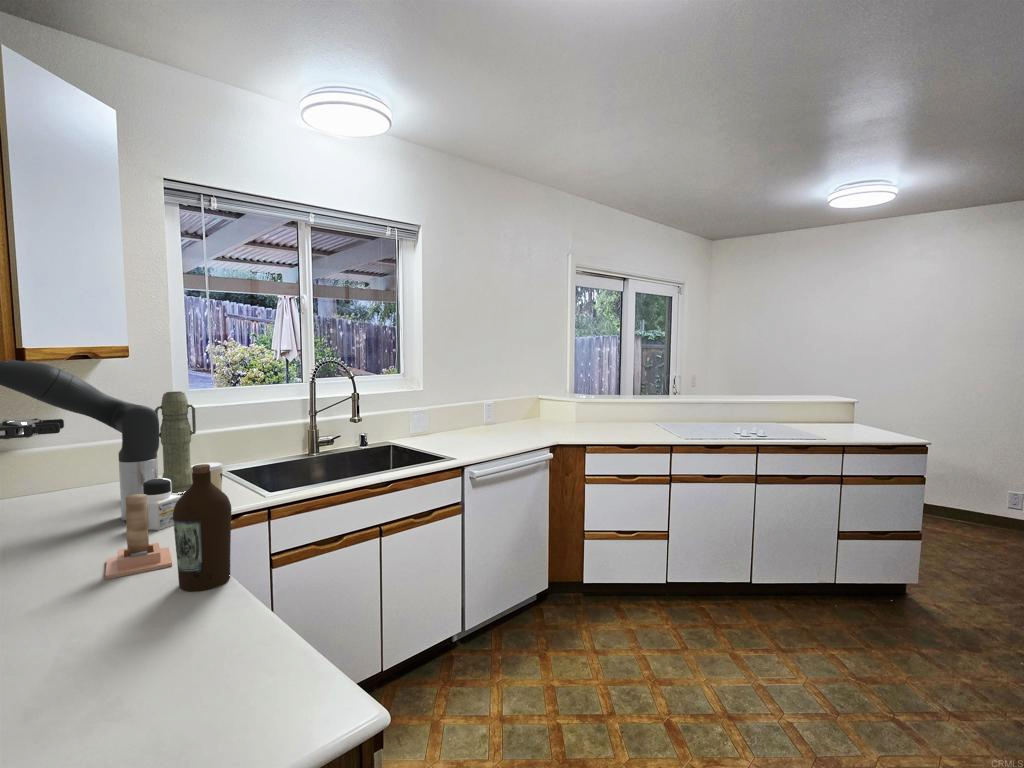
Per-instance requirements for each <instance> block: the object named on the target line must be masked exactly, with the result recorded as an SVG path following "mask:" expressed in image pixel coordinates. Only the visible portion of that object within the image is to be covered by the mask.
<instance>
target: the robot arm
mask: <svg viewBox="0 0 1024 768" xmlns="http://www.w3.org/2000/svg"><path fill="white" fill-rule="evenodd" d="M5 361H8V362H1V361H0V386H1V387H2V386H3V387H5V388H7V389H10V390H13V391H15V392H18V393H20V394H23V395H26V396H28V397H30V398H33V399H35V400H38V401H40V402H42V403H45V404H47V405H50V406H53V407H56V408H59V409H61V410H65V411H68V412H72V413H75V414H79V415H83V416H85V417H89V418H91V419H94V420H96V421H98V422H100V423H102V424H104V425H106V426H108V427H110V428H112V429H114V430H115V431H117V432H119V433H121V449H120V450H119V451H118V471H119V472H118V473H119V491H120V495H119V496H120V498H119V499H120V514H121V515H120V516H121V519H122V520H121V521H123V520H126V499H125V498H126V497H127V496H130V495H136V494H144V493H143V484H144V482H146V481H148V480H151V479H157V478H159V469H158V450H159V448H160V437H159V434H160V421H159V415H157V413H156V412H155V411H154V410H155V409H153V408H151V407H149V406H147V405H142V404H135V403H131V402H128V401H125V400H122V399H119V398H115V397H113V396H110V395H108V394H106V393H104V392H102V391H100V390H99V389H97V388H96V387H94V386H93V385H92V384H90V383H88V382H87V381H85V380H84V379H82V378H80V377H79V376H75V375H74V374H72V373H71V372H70V373H69V372H67V371H65V370H63V369H60V368H58V367H55V366H54V365H50V364H45V363H40V362H33V361H23V360H15V359H10V360H5ZM64 428H65V420H64V419H62V418H59V419H58V418H57V419H56V418H55V419H41V418H32V419H31V418H22V419H21V418H19V419H14V418H10V419H4V420H2V421H1V422H0V440H11V439H24V438H27V439H29V438H32V437H35V436H38V435H39V436H40V435H52V434H59V433H60V432H61V430H62V429H64Z"/></svg>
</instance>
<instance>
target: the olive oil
mask: <svg viewBox="0 0 1024 768" xmlns="http://www.w3.org/2000/svg"><path fill="white" fill-rule="evenodd" d="M194 465H195V464H194ZM192 469H193V473H192V481H193V484H192V485H191V487H190V488H189V489H188V490H187V491H186V492H185V493H184V494H181V496H180V499H179V500H178V501H177V503H176V505H175V507H174V511H173V517H172V519H173V525H172V526H173V530H174V531H173V532H174V541H175V551H176V554H175V555H176V562H177V563H176V564H177V573H178V574H177V575H178V587H179V589H180V590H181V591H185V592H203V591H209V590H212V589H215V588H217V587H220V586H222V585H224V584H225V583H227V582H228V581H229V580H230V579H231V543H232V542H231V541H232V539H231V534H232V533H231V532H232V504H231V501H230V498H229V496H227V494H226V493H225V492H223V491H221V490H220V489H218V488H217V487H216V486H215V485H213V484H212V483H211V471H210V465H208V464H201V465H195V466H193V467H192ZM229 575H230V576H229Z"/></svg>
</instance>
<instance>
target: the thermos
mask: <svg viewBox="0 0 1024 768" xmlns="http://www.w3.org/2000/svg"><path fill="white" fill-rule="evenodd" d="M162 395H163V396H162V397H161V402H160V403H161V404H160V405H159V406H157V407H156V408H155V409H153V410H154V411H155V412H156V413H157V415H158V413H159V410H161V416H162V419H161V425H160V426H159V439H160V443H161V445H162V460H163V464H162V465H163V474H162V477H161V478H166V479H170V480H171V489H172V493H178V492H184V491H187V490H188V489H189V488H190V487H191V485H192V483H191V473H190V468H191V447H190V445H191V444H190V443H191V442H192V436H193V435H195V434H196V430H197V428H196V425H197V424H196V408H195V407H194V406H193V404H189V403H188V402H189V401H188V398H187V396H186V393H185V392H183V391H166V392H164V393H163V394H162ZM189 408H191V418H192V419H191V421H192V422H191V423H192V424H190V422H189V417H188V414H189ZM158 416H159V415H158ZM191 425H192V430H191Z"/></svg>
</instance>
